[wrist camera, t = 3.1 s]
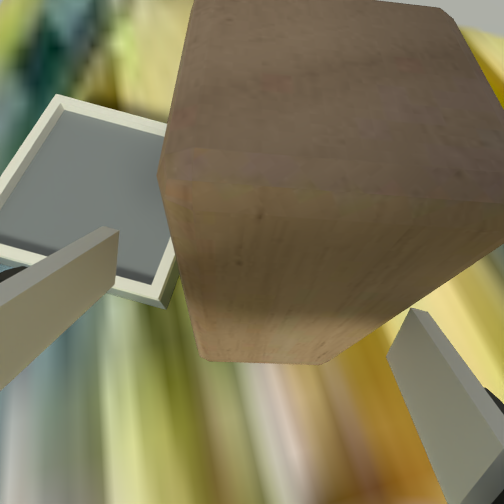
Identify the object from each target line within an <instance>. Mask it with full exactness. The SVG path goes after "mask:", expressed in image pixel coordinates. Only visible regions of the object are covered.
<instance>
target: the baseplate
mask: <svg viewBox="0 0 504 504" xmlns="http://www.w3.org/2000/svg"><path fill="white" fill-rule="evenodd" d="M166 127H167V124H166V123H162V122H158V121H155V120H151V119H147V118H143V117H140V116H136V115H132V114H129V113H125V112H121V111H118V110H114V109H110V108H106V107H103V106H99V105H95V104H92V103H88V102H84V101H80V100H77V99H73V98H69V97H66V96H62V95H58V94H56V95H55V96H54V98H53V99H52V101H51V102H50V104H49V105H48V107H47V108H46V110H45V111H44V113H43V114H42V116H41V117H40V119H39V120H38V122H37V123H36V125H35V126H34V128H33V129H32V131H31V132H30V134H29V135H28V137H27V138H26V140H25V141H24V143H23V144H22V146H21V147H20V148H19V150H18V151H17V153H16V154H15V156H14V157H13V159H12V160H11V162H10V163H9V165H8V166H7V168H6V169H5V171H4V172H3V174H2V175H1V177H0V264H3V265H7V266H10V267H14V268H16V267H20V266H25V267H30V266H31V265H33V264H35V263H37V262H39V261H40V260H42V259H44V258H46V257H48V256H49V255H51V254H53V253H55V252H57V251H58V250H60V249H62V248H64V247H66V246H67V245H69V244H71V243H73V242H75V241H76V240H78V239H80V238H82V237H84V236H85V235H87V234H89V233H91V232H93V231H94V230H96V229H98V228H100V227H102V226H105V227H109V228H112V229H116V230H120V231H119V242H118V254H117V265H116V277H115V285H114V286H113V287H112V288H110V289H109V290H108V291H107V292H106V293H108V294H111V295H115V296H119V297H122V298H126V299H129V300H133V301H137V302H140V303H144V304H148V305H151V306H155V307H158V308H162V309H167V307H168V304H169V301H170V298H171V296H172V293H173V290H174V287H175V285H176V282H177V279H178V276H179V274H180V273H179V269H178V265H177V261H176V256H175V252H174V248H173V244H172V240H171V235H170V231H169V227H168V223H167V218H166V214H165V210H164V206H163V202H162V197H161V193H160V189H159V185H158V180H157V176H156V174H157V170H158V165H159V160H160V156H161V151H162V146H163V141H164V137H165V132H166Z"/></svg>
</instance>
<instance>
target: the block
mask: <svg viewBox="0 0 504 504" xmlns="http://www.w3.org/2000/svg"><path fill="white" fill-rule="evenodd" d="M156 176H157V180H158V185H159V189H160V193H161V197H162V202H163V206H164V210H165V214H166V218H167V223H168V227H169V231H170V235H171V240H172V244H173V248H174V252H175V256H176V261H177V265H178V269H179V273H180V278H181V282H182V286H183V290H184V295H185V299H186V303H187V307H188V311H189V316H190V320H191V324H192V328H193V333H194V337H195V341H196V345H197V349H198V352H199V355H200V357H202V358H204V359H206V360H208V361H218V362H248V363H277V364H306V365H320V364H323V363H325V362H328V361H329V360H331V359H332V358H334V357H335V356H337V355H338V354H340V353H341V352H343V351H344V350H346V349H347V348H349V347H350V346H352V345H353V344H355V343H356V342H358V341H359V340H361V339H362V338H364V337H365V336H367V335H368V334H370V333H371V332H373V331H374V330H376V329H377V328H379V327H380V326H382V325H383V324H385V323H386V322H388V321H389V320H391V319H392V318H393V317H395V316H396V315H398V314H399V313H401V312H402V311H404V310H405V309H407V308H408V307H410V306H411V305H413V304H414V303H416V302H417V301H419V300H420V299H422V298H423V297H425V296H426V295H428V294H429V293H431V292H432V291H434V290H435V289H437V288H438V287H440V286H441V285H443V284H444V283H446V282H447V281H449V280H450V279H452V278H453V277H455V276H456V275H458V274H459V273H461V272H462V271H464V270H465V269H467V268H468V267H470V266H471V265H472V264H474V263H475V262H477V261H478V260H480V259H481V258H483V257H484V256H486V255H487V254H489V253H490V252H492V251H493V250H495V249H496V248H498V247H499V246H501V245H502V244H504V110H503V108H502V106H501V104H500V103H499V101H498V99H497V97H496V95H495V94H494V92H493V90H492V88H491V86H490V84H489V83H488V81H487V79H486V77H485V75H484V74H483V72H482V70H481V68H480V66H479V64H478V63H477V61H476V59H475V57H474V55H473V54H472V52H471V50H470V48H469V46H468V45H467V43H466V41H465V39H464V37H463V35H462V34H461V32H460V30H459V28H458V26H457V25H456V23H455V21H454V19H453V18H452V17H450V16H449V15H448V14H447V13H446V12H444V11H443V10H442V9H441V8H436V7H428V6H420V5H410V4H403V3H393V2H385V1H377V0H194V3H193V6H192V10H191V13H190V18H189V23H188V28H187V32H186V37H185V42H184V47H183V51H182V56H181V61H180V65H179V70H178V75H177V80H176V84H175V89H174V94H173V99H172V103H171V108H170V113H169V118H168V122H167V127H166V132H165V137H164V141H163V146H162V151H161V156H160V160H159V165H158V170H157V174H156Z"/></svg>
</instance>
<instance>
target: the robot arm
mask: <svg viewBox="0 0 504 504" xmlns="http://www.w3.org/2000/svg"><path fill="white" fill-rule="evenodd" d="M119 231H120V230H116V229H112V228H109V227H105V226H102V227H100V228H98V229H96V230H94V231H93V232H91V233H89V234H87V235H85V236H84V237H82V238H80V239H78V240H76V241H75V242H73V243H71V244H69V245H67V246H66V247H64V248H62V249H60V250H58V251H57V252H55V253H53V254H51V255H49V256H48V257H46V258H44V259H42V260H40V261H39V262H37V263H35V264H33V265H31V266H30V267H25V266H20V267H16V268H12V269H9V270H5V271H3V272H1V273H0V391H1V390H2V389H3V388H4V387H5V386H6V385H7V384H8V383H10V382H11V381H12V380H13V379H14V378H15V377H16V376H17V375H18V374H19V373H20V372H21V371H22V370H23V369H25V368H26V367H27V366H28V365H29V364H30V363H31V362H32V361H33V360H34V359H35V358H36V357H37V356H39V355H40V354H41V353H42V352H43V351H44V350H45V349H46V348H47V347H48V346H49V345H50V344H51V343H52V342H54V341H55V340H56V339H57V338H58V337H59V336H60V335H61V334H62V333H63V332H64V331H65V330H66V329H68V328H69V327H70V326H71V325H72V324H73V323H74V322H75V321H76V320H77V319H78V318H79V317H80V316H81V315H83V314H84V313H85V312H86V311H87V310H88V309H89V308H90V307H91V306H92V305H93V304H94V303H95V302H96V301H98V300H99V299H100V298H101V297H102V296H103V295H104V294H105V293H106V292H107V291H108V290H109V289H110V288H112V287H113V286H114V285H115V277H116V265H117V254H118V242H119ZM386 358H387V360H388V362H389V365H390V367H391V369H392V372H393V374H394V377H395V379H396V381H397V384H398V386H399V389H400V391H401V393H402V396H403V398H404V401H405V403H406V405H407V408H408V410H409V413H410V415H411V417H412V420H413V422H414V424H415V427H416V429H417V432H418V434H419V436H420V439H421V441H422V444H423V446H424V448H425V451H426V453H427V456H428V458H429V460H430V463H431V465H432V468H433V470H434V472H435V475H436V477H437V479H438V482H439V484H440V487H441V489H442V491H443V494H444V496H445V499H446V501H447V503H448V504H504V404H503V403H502V402H501V401H500V400H499V399H498V398H497V397H496V396H495V395H494V394H492V393H491V392H490V391H489V390H488V389H487V388H484V387H483V386H482V385H481V383H480V382H479V381H478V379H477V378H476V377H475V375H474V374H473V373H472V371H471V370H470V368H469V367H468V366H467V364H466V363H465V362H464V360H463V359H462V358H461V356H460V355H459V354H458V352H457V351H456V349H455V348H454V347H453V345H452V344H451V343H450V341H449V340H448V339H447V337H446V336H445V335H444V333H443V332H442V331H441V329H440V328H439V326H438V325H437V324H436V322H435V321H434V320H433V318H432V317H431V316H430V314H429V313H428V312H426V311H422V310H418V309H415V308H410V310H409V312H408V314H407V316H406V318H405V320H404V322H403V324H402V326H401V328H400V330H399V332H398V334H397V336H396V338H395V340H394V342H393V344H392V346H391V348H390V350H389V352H388V354H387V356H386Z"/></svg>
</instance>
